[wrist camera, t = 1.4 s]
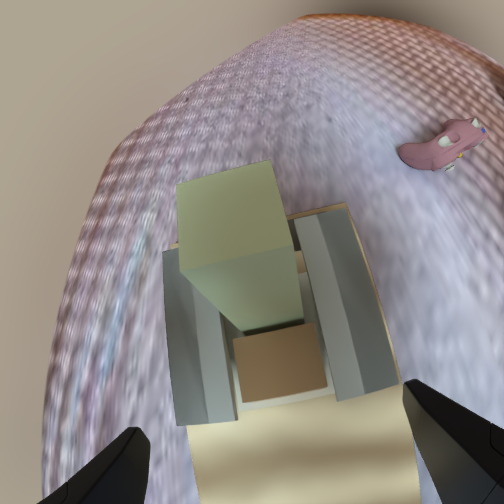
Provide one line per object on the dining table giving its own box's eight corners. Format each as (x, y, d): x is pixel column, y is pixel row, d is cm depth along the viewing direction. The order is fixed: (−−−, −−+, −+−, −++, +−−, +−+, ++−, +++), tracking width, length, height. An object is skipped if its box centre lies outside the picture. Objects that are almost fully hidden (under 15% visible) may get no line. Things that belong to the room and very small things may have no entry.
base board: (418, 510, 15) (422, 514, 14) (215, 545, 16) (211, 550, 15) (344, 208, 27) (345, 201, 26) (174, 249, 29) (169, 244, 28)
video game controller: (414, 190, 29) (454, 171, 22) (391, 151, 29) (426, 124, 22) (465, 156, 29) (502, 136, 22) (445, 122, 29) (478, 98, 22)
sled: (340, 391, 20) (378, 382, 8) (242, 411, 20) (152, 420, 9) (313, 275, 24) (306, 151, 12) (224, 295, 24) (144, 194, 13)
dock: (379, 387, 19) (399, 384, 14) (207, 421, 20) (176, 426, 16) (340, 246, 25) (345, 207, 20) (190, 281, 26) (162, 251, 21)
